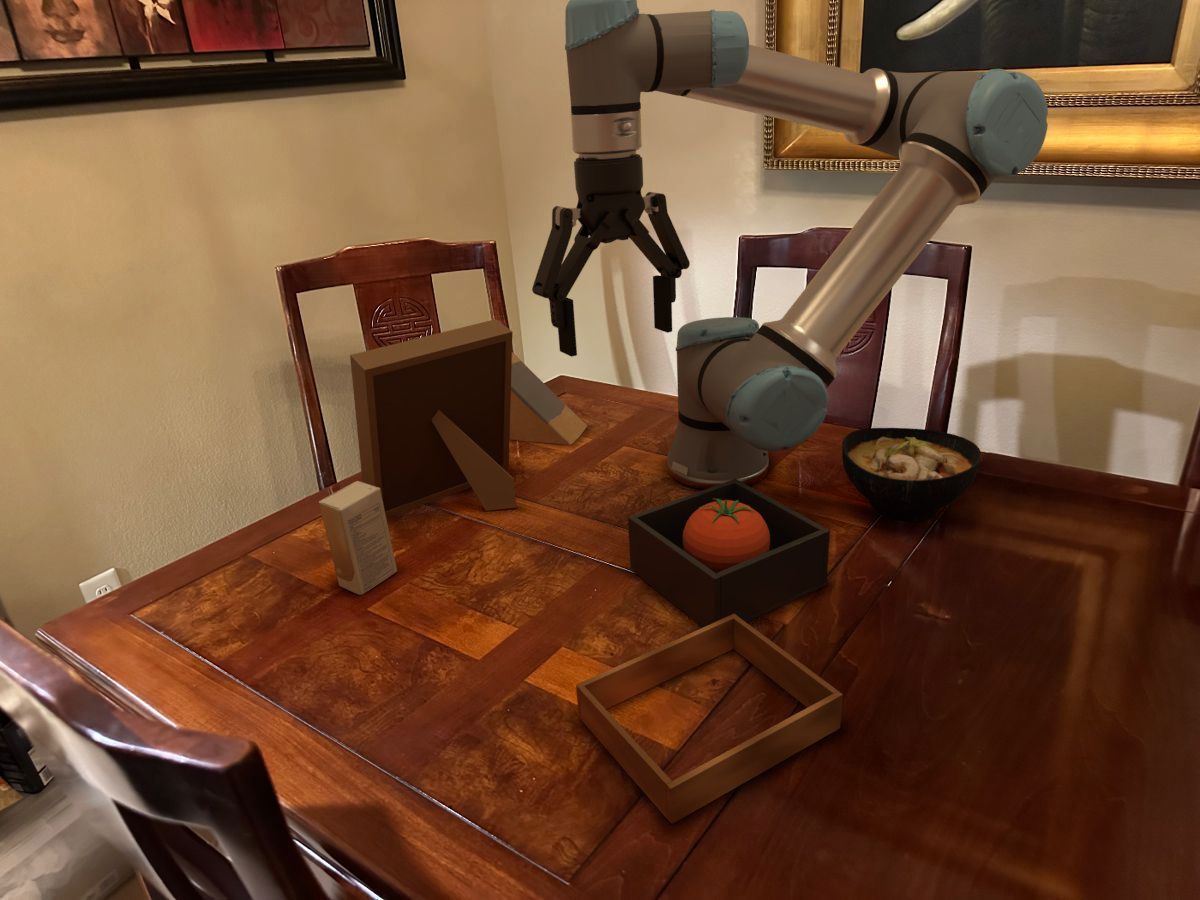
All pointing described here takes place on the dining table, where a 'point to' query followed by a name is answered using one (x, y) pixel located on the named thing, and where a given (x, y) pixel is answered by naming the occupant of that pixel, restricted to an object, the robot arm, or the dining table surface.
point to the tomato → (725, 534)
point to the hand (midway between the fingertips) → (617, 341)
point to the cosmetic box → (358, 537)
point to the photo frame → (437, 417)
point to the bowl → (909, 470)
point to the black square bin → (740, 588)
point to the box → (740, 760)
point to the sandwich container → (539, 410)
